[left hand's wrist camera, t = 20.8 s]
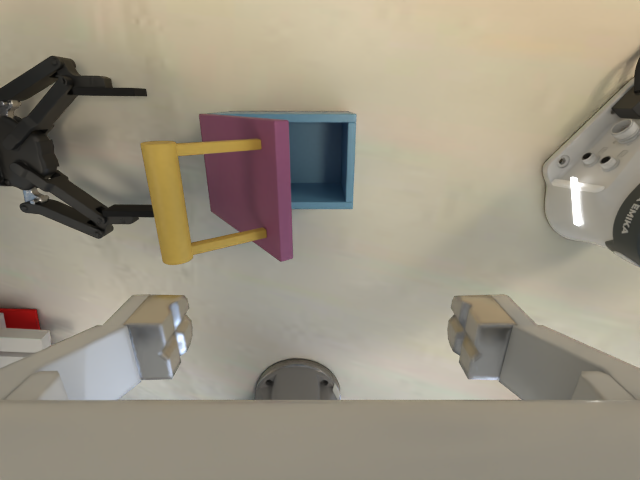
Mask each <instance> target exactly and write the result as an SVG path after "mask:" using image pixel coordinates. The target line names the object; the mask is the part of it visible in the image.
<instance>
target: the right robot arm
mask: <svg viewBox="0 0 640 480" xmlns="http://www.w3.org/2000/svg"><path fill="white" fill-rule="evenodd" d="M75 68H76V64H75V62H74V61H73V60H72V59H68V58H63V57H57V56H50V57H49V58H47V59H46V60H44V61H42V62H41V63H39V64H38V65H36V66H35V67H33V68H32V69H30V70H28V71H27V72H25V73H24V74H22V75H21V76H19V77H18V78H16V79H14V80H13V81H11V82H10V83H8V84H7V85H5V86H4V87H2V88H0V186H14V187H17V188H19V189H21V190H23V194H24V198H25V202H24V203H22V204H20V209H21V210H22V211H23V212H25V213H33V214H41V215H43V216H45V217H48V218H50V219H52V220H55V221H57V222H60V223H62V224H64V225H67V226H69V227H71V228H74V229H76V230H78V231H81V232H83V233H86V234H88V235H90V236H93V237H95V238H98V239H99V238H102V237H103V236H105V235H107V234H108V233H110V232H111V231H113V226H112V224H131V223H134V222H135V221H137V220H138V219H139V217H154V213H153V208H152V205H116V204H114V205H112V206H110V207H106V206H105V205H103V204H102V203H101V202H99V201H98V200H96V199H95V198H93V197H92V196H90V195H89V194H88V193H86V192H85V191H83V190H82V189H80V188H79V187H77V186H76V185H75V184H73V183H72V182H70V181H69V180H68V177H67V176H65V175H64V174H63V173H61V172H60V171H58V170H57V167H58V166H59V163H58V160H57V158H56V156H55V154H54V145H53V141H52V140H49V138H48V137H47V134H48V133H49V131H50V130H51V129H52V128H53V127H54V125H53V124H54V122H55V121H56V120H57V119H58V118H59V117H60V115H61V114H62V113H63V112H64V111H65V110H66V108H67V107H68V106H69V105H70V104H71V103H72V101H73V100H74V99H75V98H76V97H77V96H78V95H89V96H147V93H146V89H139V88H113V87H112V82H111V79H110V78H108V77H103V76H81V75H80V74H79V73H78V72H77V71H76V69H75ZM54 82H56V83H55V84H54V85H53V86H52V87H51V89H50V90H49V91H48V92H47V93H46V95H45V96H44V97H43V98H42V99H41V101H40V102H39V103H38V104H37V106H36V107H35V108H34V109H33V110H32V112H31V113H30V114H29V115H28V116H27V117H25V118H23V119H21V118H19V117H17V116H14V110H15V109H17V108H18V107H19V106H21V102H20V101H23V100H26V99H28V98H30V97H32V96H33V95H35V94H37V93H38V92H40V91H41V90H43V89H45V88H46V87H48V86H49V85H51V84H53V83H54ZM49 178H51V179H49ZM37 188H40V189H41V190H43V191H46V192H50V193H52V194H53V195H55V196H56V197H58V198H59V199H61V200H62V201H64V202H65V203H67V204H68V205H70V206H71V207H70V206H68V205H66V204H63V203H61V202H58V201H56V200H51V199H49V196H47V195H43V194H40V193H39V192H38V191H37ZM72 207H73V208H72ZM255 400H341V399H340V387H339V383H338V381H337V379H336V377H335V376H334V374H333V373H332V372H331V371H330V370H328V369H327V368H326V367H324V366H322V365H321V364H319V363H316V362H313V361H309V360H303V359H291V360H285V361H281V362H279V363H276V364H274V365H272V366H271V367H269V368H268V369H267V370H266V371H264V373H263V374H262V375H261V377H260V378H259V380H258V383H257V387H256V392H255Z"/></svg>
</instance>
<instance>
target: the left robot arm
mask: <svg viewBox="0 0 640 480" xmlns="http://www.w3.org/2000/svg"><path fill="white" fill-rule="evenodd" d="M561 158H562V162H561V163H559V160H560V159H561ZM543 176H544V180H545V183H546V196H545V214H546V217H547V220H548V222H549V224H550V226H551V227H552V228H553V229H554V231H556V232H557V233H558V234H559V235H561V236H563V237H565V238H567V239H570V240H575V241H583V242H588V243H592V244H595V245H599V246H602V247H605V248H608V249H610V250H611V251H612V252H613V253H614V254H615V255H617V256H619V257H621V258H622V259H624V260H626V261H628V262H630V263H632V264H634V265H636V266H638V267H640V58H639V60H638V62H637V65H636V69H635V76H634V78H632V79H631V80H630V81H629V82H628V83H627V84H626V85H625V86H624V87H623V88H622V89H620V90H619V91H618V92H617V93H616V94H615V95H614V96H613V97H612V98H611V99H610V100H609V101H608V102H607V103H606V104H605V105H604V106H603V107H602V108H601V109H600V110H599V111H598V112H597V113H596V114H595V115H594V116H592V117H591V118H590V119H589V120H588V121H587V122H586V123H585V124H584V125H583V126H582V127H581V128H580V129H579V130H578V131H577V132H576V133H575V134H574V135H573V136H572V137H571V138H570V139H569V140H568V141H567V142H566V143H565V144H563V145H562V146H561V147H560V148H559V149H558V150H557V151H556V152H555V153H554V154H553V155H552V156H551V157H550V158H549V159H548V160H547V161H546V162H545V163H544V165H543ZM188 309H189V304H188V300H187V298H186V297H185V296H184V295H133V296H131V297H130V298H129V299H128V300H127V301H126V302H125V303H124V304H123V305H122V306H121V307H120V308H119V309H118V310H117V311H116V312H115V313H114V314H113V315H112V316H111V317H110V318H109V319H108V320H107V321H106V322H105V323H104V324H103V325H97V326H95V327H92V328H90V329H88V330H85V331H83V332H81V333H79V334H76V335H74V336H72V337H70V338H67V339H65V340H63V341H61V342H58V343H56V344H54V345H52V346H49V347H47V348H45V349H43V350H40V351H38V352H36V353H34V354H31V355H29V356H27V357H25V358H22V359H20V360H18V361H16V362H13V363H11V364H9V365H7V366H4V367H2V368H0V480H640V368H638V367H635V366H633V365H631V364H629V363H626V362H624V361H622V360H620V359H617V358H615V357H613V356H611V355H608V354H606V353H604V352H602V351H599V350H597V349H595V348H593V347H590V346H588V345H586V344H584V343H581V342H579V341H577V340H575V339H572V338H570V337H568V336H566V335H563V334H561V333H559V332H557V331H554V330H552V329H550V328H548V327H545V326H543V325H537V324H536V323H535V322H534V321H533V320H532V319H531V318H530V317H529V316H528V315H527V314H526V313H525V312H524V311H523V310H522V309H521V308H520V307H519V306H518V305H517V304H516V303H515V302H514V301H513V300H512V299H511V298H510V297H509V296H507V295H504V294H501V295H468V296H454V298H453V300H452V304H451V309H452V311H453V312H454V315H453V316H452V317H451V318H450V320H449V321H448V329H447V331H448V340H449V343H450V346H451V348H452V350H453V352H455V353H456V354H458V355H459V356H460V359H459V363H460V365H461V367H462V369H463V370H464V372H465V374H466V376H467V378H468V379H482V380H499V382H500V383H502V384H503V385H504V386H505V387H507V388H508V389H509V390H510V391H512V392H513V393H514V394H516V395H517V396H518V397H519V398H521V399H522V400H118V399H119V398H121V397H122V396H123V395H125V394H126V393H127V392H128V391H130V390H131V389H132V388H134V387H135V386H136V385H137V384H139V383H140V382H141V380H157V379H172V378H173V376H174V374H175V372H176V370H177V369H178V367H179V365H180V363H181V359H180V356H181V355H182V354H184V353H185V352H187V350H188V348H189V346H190V344H191V339H192V321H191V320H190V318H189V317H188V316H187V315H186V312H187V311H188Z"/></svg>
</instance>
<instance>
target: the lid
mask: <svg viewBox="0 0 640 480" xmlns="http://www.w3.org/2000/svg"><path fill="white" fill-rule="evenodd" d="M199 119H200V127H201V135H202V142H193V143H176V142H174V141H150V142H143V143H141V144H140V145H141V150H142V155H143V160H144V166H145V171H146V176H147V181H148V187H149V192H150V197H151V202H152V208H153V213H154V218H155V223H156V228H157V234H158V239H159V244H160V249H161V255H162V260H163V262H164V263H165V264H168V265H178V264H183V263H186V262H188V261H190V260H191V259H192V258H193V255H195V254H199V253H204V252H208V251H212V250H216V249H221V248H225V247H229V246H233V245H238V244H242V243H246V242H250V241H253V242H254V243H256V244H257V245H258V246H260V247H261V248H262V249H264V250H265V251H267V252H268V253H269V254H271V255H272V256H274V257H275V258H276V259H278V260H279V261H281V262H282V261H285V260H289V259H292V258H293V243H292V211H291V178H290V146H289V121H288V120H281V119H268V118H255V117H242V116H230V115H217V114H199ZM199 154H204V159H205V167H206V175H207V183H208V191H209V199H210V207H211V212H213V213H214V214H216V215H217V216H218V217H220V218H221V219H222V220H224V221H225V222H227V223H228V224H229V225H231V226H232V227H234V228H235V229H236V230H238V231H239V233H234V234H230V235H225V236H220V237H216V238H211V239H207V240H202V241H197V242H193V243H191V239H190V232H189V226H188V219H187V213H186V206H185V200H184V193H183V186H182V180H181V173H180V167H179V160H178V156H187V155H199Z"/></svg>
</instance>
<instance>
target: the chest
mask: <svg viewBox="0 0 640 480" xmlns="http://www.w3.org/2000/svg"><path fill="white" fill-rule="evenodd" d="M210 114H217V115H230V116H242V117H255V118H268V119H281V120H288V121H289V146H290V178H291V209H353V187H354V162H355V137H356V123H355V122H356V114H354V113H351V112H348V111H229V112H220V113H210Z"/></svg>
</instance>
